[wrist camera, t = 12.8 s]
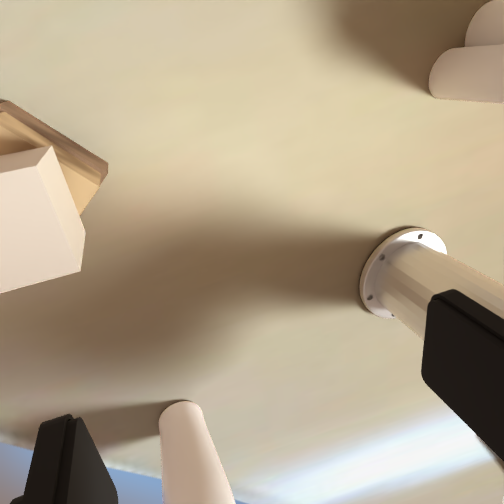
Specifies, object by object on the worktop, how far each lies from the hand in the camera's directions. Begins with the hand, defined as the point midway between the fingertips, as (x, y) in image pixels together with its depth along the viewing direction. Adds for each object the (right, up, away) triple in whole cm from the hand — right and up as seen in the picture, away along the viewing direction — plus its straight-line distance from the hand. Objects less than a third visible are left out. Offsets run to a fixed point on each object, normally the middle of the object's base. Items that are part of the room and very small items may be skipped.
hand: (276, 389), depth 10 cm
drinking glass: (-10, -16, +37) cm, 41 cm away
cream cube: (-15, +7, +14) cm, 22 cm away
